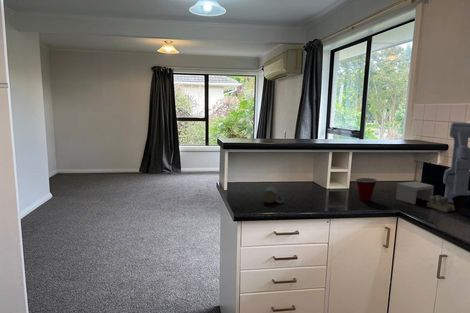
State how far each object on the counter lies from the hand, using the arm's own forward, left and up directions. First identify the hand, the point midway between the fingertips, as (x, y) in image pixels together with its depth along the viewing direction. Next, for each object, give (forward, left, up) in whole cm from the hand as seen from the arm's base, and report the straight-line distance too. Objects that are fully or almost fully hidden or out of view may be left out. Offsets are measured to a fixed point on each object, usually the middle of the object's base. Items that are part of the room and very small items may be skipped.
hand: (457, 210), depth 158 cm
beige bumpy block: (0, -8, -2) cm, 8 cm away
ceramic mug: (+76, -50, -2) cm, 91 cm away
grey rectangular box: (0, -23, -1) cm, 23 cm away
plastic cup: (+27, -34, -2) cm, 43 cm away
